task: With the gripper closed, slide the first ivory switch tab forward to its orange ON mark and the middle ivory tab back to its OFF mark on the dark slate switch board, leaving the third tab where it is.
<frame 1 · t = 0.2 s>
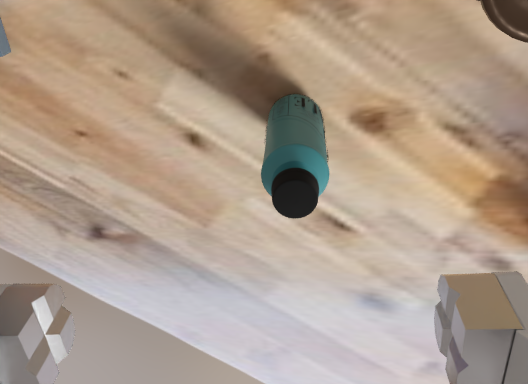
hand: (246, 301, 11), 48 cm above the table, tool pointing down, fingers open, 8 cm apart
beverage bottle: (295, 112, 59), on the table
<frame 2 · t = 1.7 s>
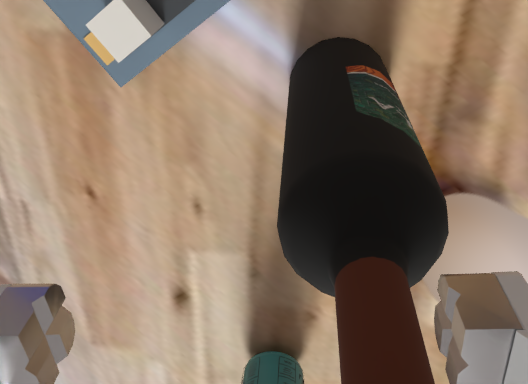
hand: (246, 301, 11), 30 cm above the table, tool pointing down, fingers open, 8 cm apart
wine bottle: (337, 86, 39), on the table
tab c: (126, 24, 34), point 4 cm above the table, slide at 3.5 cm
beverage bottle: (275, 358, 55), on the table
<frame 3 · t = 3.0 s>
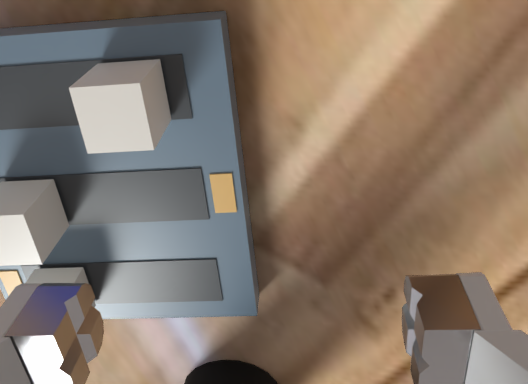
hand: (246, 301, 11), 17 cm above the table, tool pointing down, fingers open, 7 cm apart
switch board: (110, 180, 30), on the table
tab a: (124, 105, 23), point 4 cm above the table, slide at -3.5 cm
tab c: (54, 307, 29), point 4 cm above the table, slide at 3.5 cm
tab b: (20, 221, 26), point 4 cm above the table, slide at 3.5 cm
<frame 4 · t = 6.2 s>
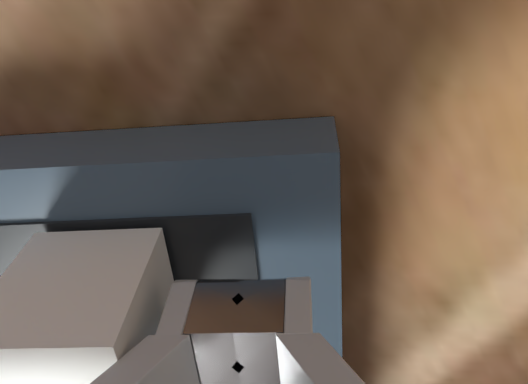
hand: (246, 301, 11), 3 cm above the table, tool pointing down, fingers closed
switch board: (105, 374, 17), on the table
tab a: (87, 335, 11), point 4 cm above the table, slide at -2.5 cm, touching gripper
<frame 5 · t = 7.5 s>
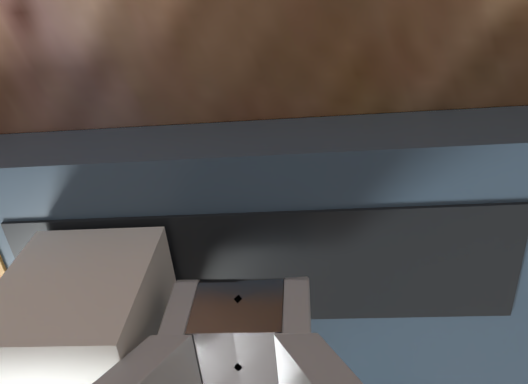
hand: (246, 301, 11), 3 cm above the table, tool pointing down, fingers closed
switch board: (279, 371, 17), on the table
tab a: (89, 333, 11), point 4 cm above the table, slide at 3.5 cm, touching gripper
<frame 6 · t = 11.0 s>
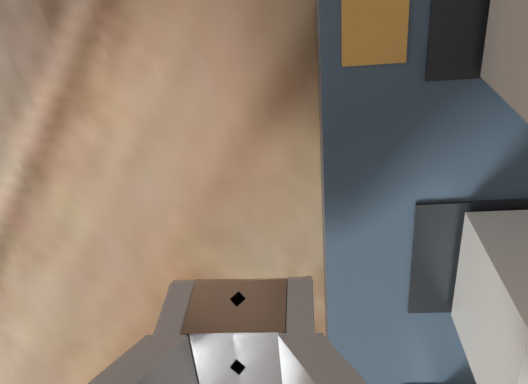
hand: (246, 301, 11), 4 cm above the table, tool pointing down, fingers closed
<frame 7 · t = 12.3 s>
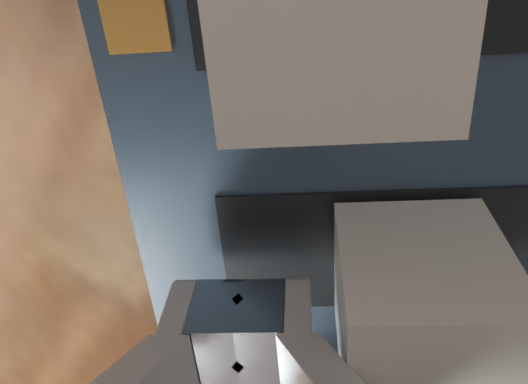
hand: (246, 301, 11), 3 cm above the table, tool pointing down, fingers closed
switch board: (463, 201, 13), on the table
tab b: (418, 314, 10), point 4 cm above the table, slide at 1.9 cm, touching gripper
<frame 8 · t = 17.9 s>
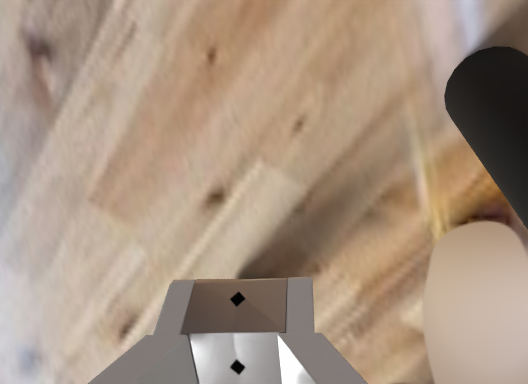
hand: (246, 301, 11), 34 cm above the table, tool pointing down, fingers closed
wine bottle: (489, 90, 43), on the table
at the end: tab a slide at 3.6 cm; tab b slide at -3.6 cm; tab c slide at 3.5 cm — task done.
